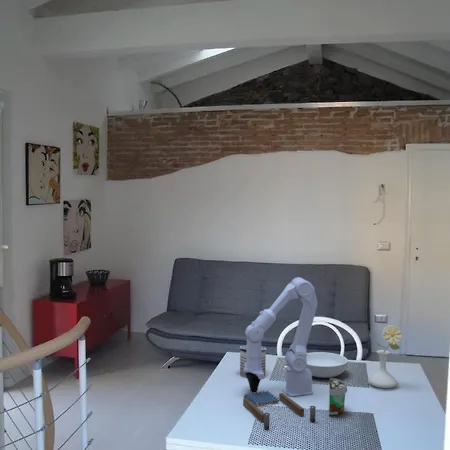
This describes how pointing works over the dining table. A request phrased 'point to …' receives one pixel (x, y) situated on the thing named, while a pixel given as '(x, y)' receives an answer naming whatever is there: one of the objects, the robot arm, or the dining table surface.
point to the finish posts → (267, 417)
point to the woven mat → (261, 398)
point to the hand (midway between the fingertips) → (253, 391)
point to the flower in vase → (382, 375)
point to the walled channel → (282, 398)
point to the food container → (336, 397)
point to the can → (244, 358)
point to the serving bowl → (326, 364)
